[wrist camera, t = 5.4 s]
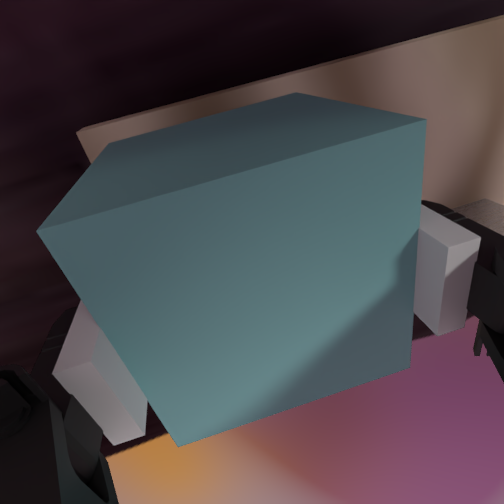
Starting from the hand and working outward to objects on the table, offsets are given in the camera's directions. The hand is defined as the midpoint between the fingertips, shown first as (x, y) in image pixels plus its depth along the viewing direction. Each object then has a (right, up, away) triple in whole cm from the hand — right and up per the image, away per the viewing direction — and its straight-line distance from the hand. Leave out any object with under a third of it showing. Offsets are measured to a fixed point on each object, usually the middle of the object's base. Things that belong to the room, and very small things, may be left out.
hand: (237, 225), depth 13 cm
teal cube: (0, +1, +2) cm, 2 cm away
